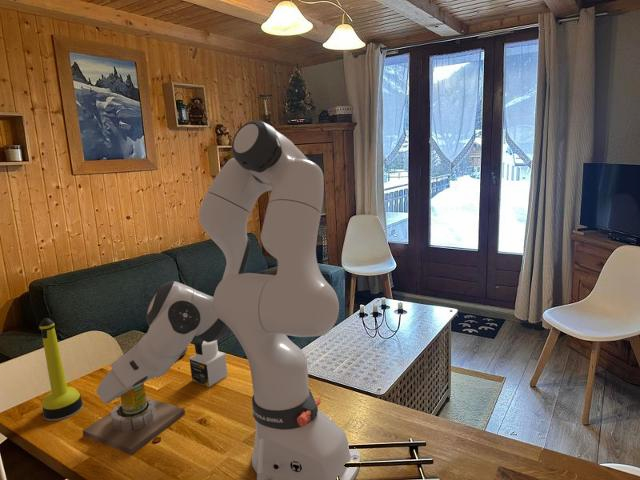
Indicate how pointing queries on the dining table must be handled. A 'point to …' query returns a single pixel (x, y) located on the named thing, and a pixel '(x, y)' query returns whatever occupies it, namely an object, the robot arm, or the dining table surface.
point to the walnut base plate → (134, 439)
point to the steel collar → (133, 417)
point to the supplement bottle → (134, 400)
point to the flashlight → (57, 379)
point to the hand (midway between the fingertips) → (130, 387)
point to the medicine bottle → (207, 363)
